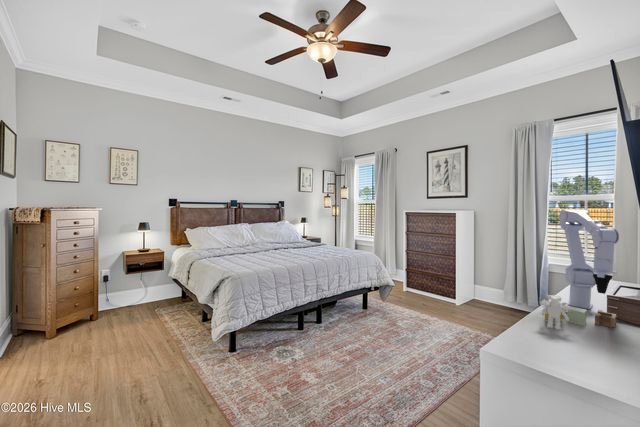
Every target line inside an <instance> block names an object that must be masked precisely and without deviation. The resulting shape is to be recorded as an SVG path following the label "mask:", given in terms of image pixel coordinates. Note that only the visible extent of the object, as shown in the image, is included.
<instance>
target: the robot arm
mask: <svg viewBox="0 0 640 427" xmlns="http://www.w3.org/2000/svg"><path fill="white" fill-rule="evenodd" d="M558 221H559V224H560V228H561V229H562V230H564V233H565V239H566V243H567V249H568V253H569V259H570V262H571V264H570V265H568V266H567V267H565V281H566V282H567V284H569V300H568V302H567V303H566V304H567V305H568V306H571V307H576V308H581V309H586V310H591V309H592V307H593V305H594V304H593V303H591V302H592V301H591V298H592V297H591V296H592V288H594V287H595V286H596V290H597V293H598V294H603V295H605V294H606V293H607V290H608V286H609V284H610V281H612V279H613V275H612V274H614V275H615V274H616V275H617V274H618V271H616V270H614V260H615V259H614V258H615V256H614V255H615V244H617V243H618V242H619V239H620V234H619V231H618V230H617V229H616V228H608V227H607V226H606V225H604V223H602V222H601V221H600V220H599V219H593V218H592V217H590V212H589V211H588V210H587V209H566V208H565V209H564V208H563V209H562V210H560V211H559V215H558ZM582 230H585V231H586V232H587V233H589V235H590V236H591V239H592V246H593V247H594V254H593V266H592V265H590V264H587V263H586V258H585V254H584V250H583V249H584V248H583V245H582V241H581V237H580V233H579V231H582Z"/></svg>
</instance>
